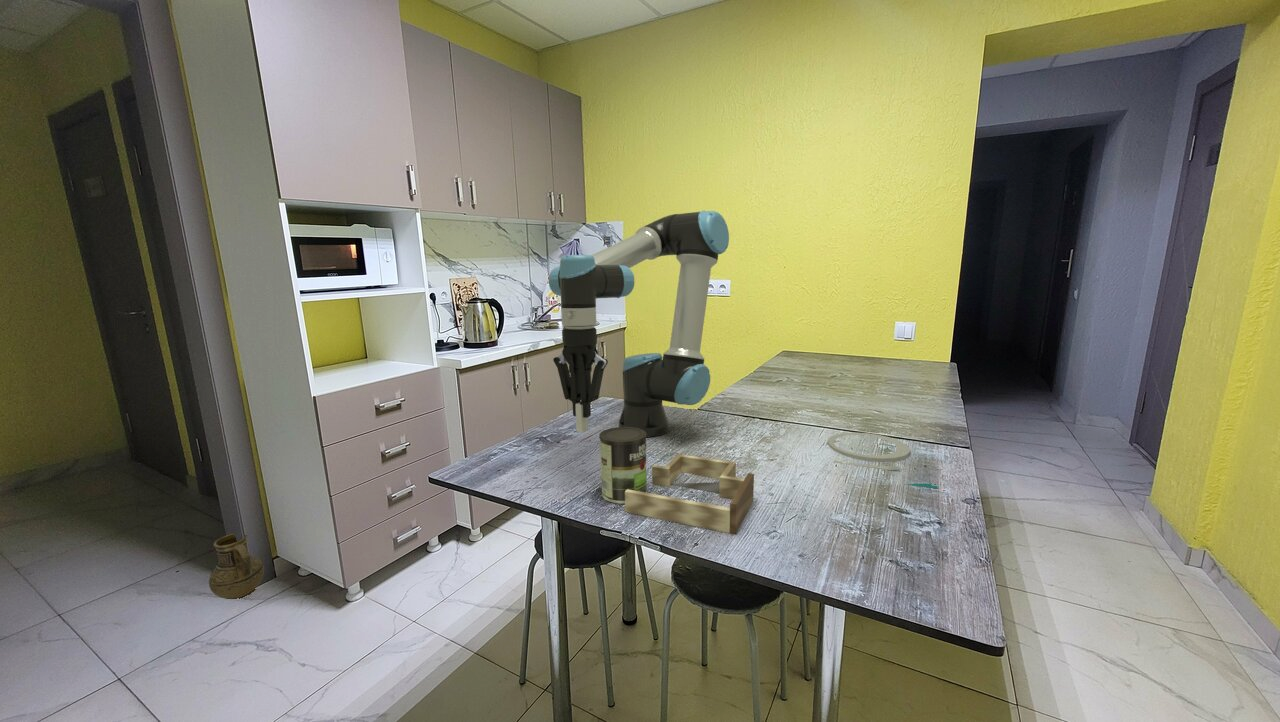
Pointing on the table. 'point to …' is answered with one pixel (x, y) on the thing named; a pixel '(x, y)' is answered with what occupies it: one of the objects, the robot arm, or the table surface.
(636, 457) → the coffee can
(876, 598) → the table surface
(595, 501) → the table surface
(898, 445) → the place mat
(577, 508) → the table surface
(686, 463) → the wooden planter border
